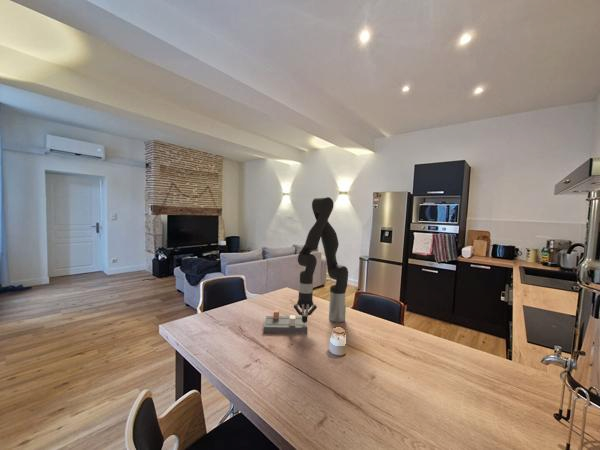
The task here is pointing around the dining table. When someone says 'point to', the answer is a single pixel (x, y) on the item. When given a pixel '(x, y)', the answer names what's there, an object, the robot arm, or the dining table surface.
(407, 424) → the dining table surface
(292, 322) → the cream fader
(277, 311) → the terracotta fader
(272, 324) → the fader console
